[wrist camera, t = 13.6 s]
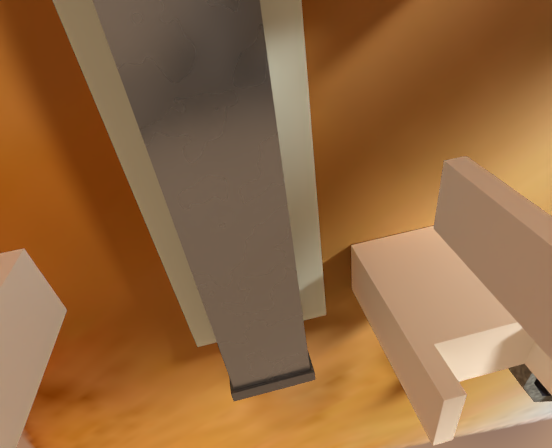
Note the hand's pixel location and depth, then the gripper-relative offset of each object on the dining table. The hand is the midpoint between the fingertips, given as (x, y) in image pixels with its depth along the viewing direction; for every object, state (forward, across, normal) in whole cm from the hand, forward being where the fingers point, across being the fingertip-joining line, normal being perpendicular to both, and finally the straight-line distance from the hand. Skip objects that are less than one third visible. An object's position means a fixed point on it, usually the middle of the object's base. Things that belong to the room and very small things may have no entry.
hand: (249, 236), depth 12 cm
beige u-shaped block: (+8, +10, -10) cm, 16 cm away
